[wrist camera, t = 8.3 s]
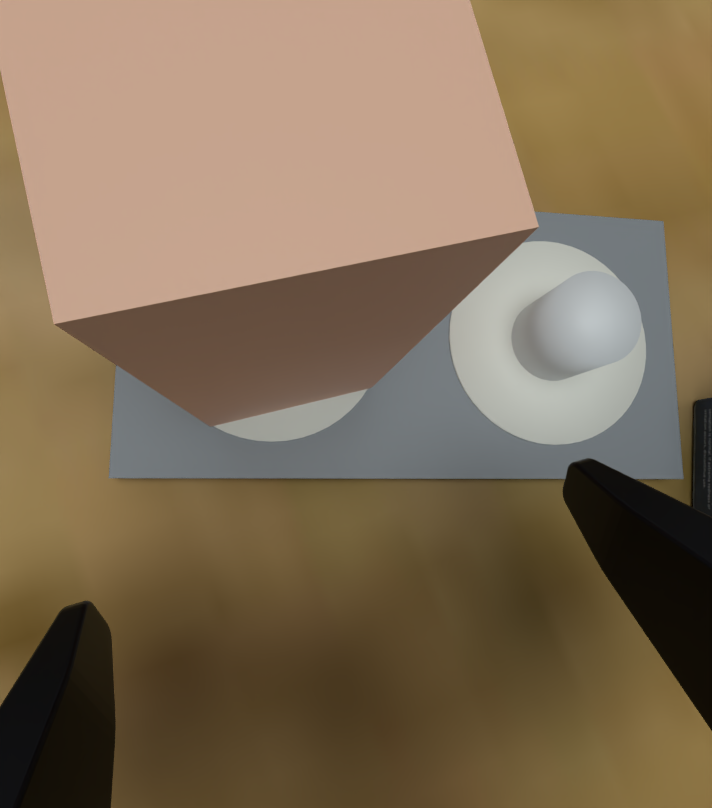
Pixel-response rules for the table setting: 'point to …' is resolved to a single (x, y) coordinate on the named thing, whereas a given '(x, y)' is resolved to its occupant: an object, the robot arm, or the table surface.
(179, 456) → the plate
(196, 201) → the pink block
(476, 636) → the table surface
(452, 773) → the table surface
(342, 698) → the table surface
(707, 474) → the box
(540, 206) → the table surface
